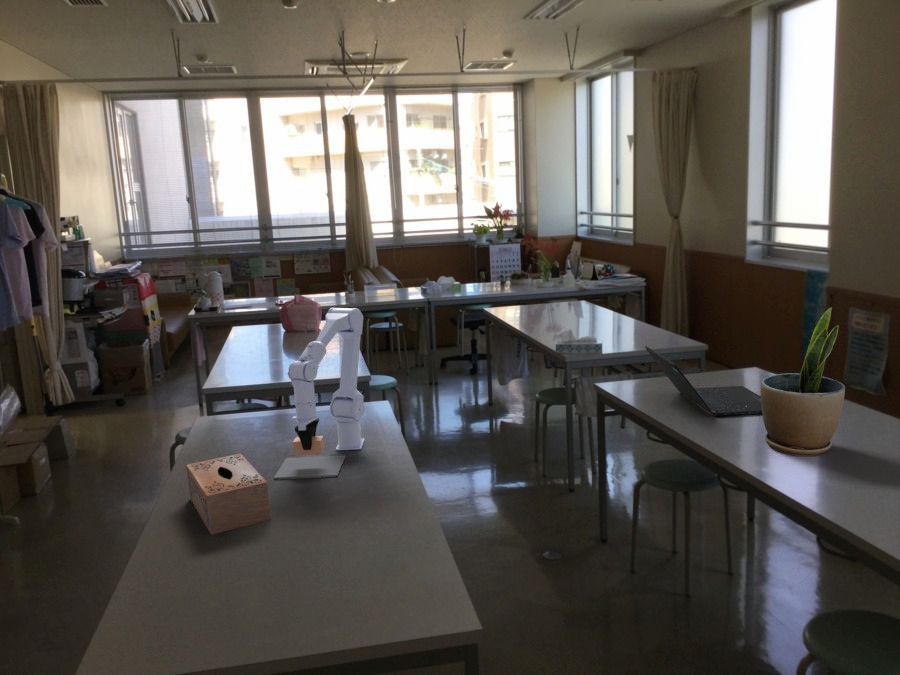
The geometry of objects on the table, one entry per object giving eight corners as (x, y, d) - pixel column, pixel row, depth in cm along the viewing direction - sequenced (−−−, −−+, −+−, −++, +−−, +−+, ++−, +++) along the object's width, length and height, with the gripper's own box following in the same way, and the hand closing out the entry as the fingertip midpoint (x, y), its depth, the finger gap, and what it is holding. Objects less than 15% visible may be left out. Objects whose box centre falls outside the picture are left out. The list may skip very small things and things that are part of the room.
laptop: (785, 414, 243) (787, 357, 240) (673, 421, 242) (673, 364, 239) (742, 389, 276) (743, 338, 272) (643, 394, 275) (643, 344, 271)
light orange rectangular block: (324, 448, 216) (323, 435, 215) (321, 453, 211) (320, 440, 211) (297, 450, 216) (296, 437, 215) (294, 455, 211) (292, 441, 211)
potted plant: (833, 465, 197) (841, 319, 189) (750, 452, 210) (754, 314, 202) (847, 443, 213) (855, 307, 206) (769, 431, 226) (773, 303, 219)
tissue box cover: (271, 520, 181) (267, 482, 179) (211, 535, 174) (206, 496, 172) (244, 487, 203) (240, 453, 201) (190, 500, 196) (186, 464, 194)
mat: (286, 459, 222) (286, 457, 222) (345, 457, 222) (345, 455, 222) (273, 479, 207) (273, 477, 207) (337, 476, 206) (337, 474, 206)
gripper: (296, 395, 218) (300, 439, 220) (285, 409, 204) (289, 455, 206) (320, 394, 218) (323, 438, 220) (310, 408, 204) (314, 454, 206)
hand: (309, 446), depth 213 cm, fingers closed on light orange rectangular block, 4 cm apart
